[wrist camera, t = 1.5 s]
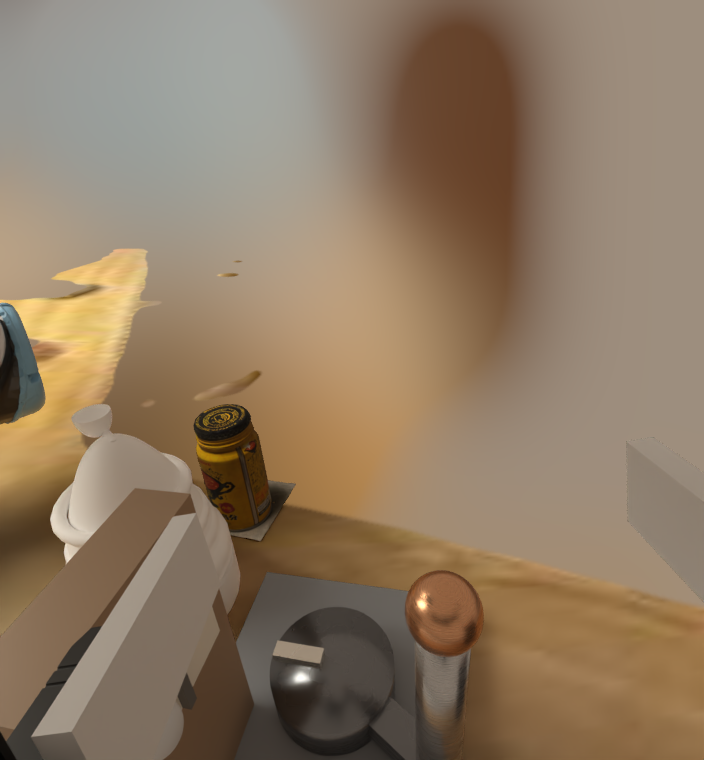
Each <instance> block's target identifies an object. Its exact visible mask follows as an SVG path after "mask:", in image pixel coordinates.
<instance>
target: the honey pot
mask: <svg viewBox="0 0 704 760" xmlns="http://www.w3.org/2000/svg"><path fill="white" fill-rule="evenodd" d="M72 422H73V423H74V425H75V427H76V428H77V429H78V430H79V431H80V432H81V433H83V434H84V435H86V436H89V437H100V436H102V437H101V438H99V439H97V440H96V441H95V442H94V443H92V445H91V446H90V447H89V448H88V449H87V451H86V452H85V454H84V456H83V457H82V459H81V461H80V464H79V466H78V469H77V472H76V475H75V479H74V482H73V483H72V484H71V485H70V486H69V487H68V488H67V489H66V490H65V491H64V492H63V493H62V494H61V495H60V497H59V499H58V500H57V502H56V503H55V505H54V507H53V510H52V514H51V518H50V521H51V525H52V529H53V532H54V533H55V534H56V535H57V537H58V538H59V539H60V540H61V541H62V542H65V548H64V556H65V560H66V564H67V563H68V561H69V560H70V559H71V558H72V557H73V556H74V555H75V554H76V553H77V551H78V550H79V549H80V548H81V547H82V546H83V545H84V544H85V543H86V542H87V540H88V539H89V538H90V537H91V536H92V535H93V534H94V533H95V532H96V531H97V529H98V528H99V527H100V526H101V525H102V524H103V523H104V522H105V521H106V520H107V518H108V517H109V516H110V515H111V514H112V513H113V512H114V511H115V510H116V508H117V507H118V506H119V505H120V504H121V503H122V502H123V501H124V500H125V499H126V497H127V496H128V495H129V494H130V493H131V492H132V491H133V490H134V489H135V488H139V489H149V490H159V491H169V492H179V493H188V494H191V498H192V501H193V504H194V507H195V511H196V513H197V516H198V519H199V522H200V525H201V528H202V531H203V534H204V536H205V539H206V542H207V545H208V548H209V551H210V554H211V557H212V560H213V563H214V566H215V569H216V572H217V574H218V577H219V580H220V583H221V584H220V587H219V590H220V593H221V596H222V599H223V603H224V606H225V609H226V613H227V614H228V613H229V612H230V610H231V609H232V607H233V604H234V602H235V599H236V597H237V594H238V592H239V585H240V576H241V574H240V570H239V566H238V561H237V558H236V554H235V550H234V546H233V543H232V539H231V536H230V531H229V528H228V524H227V522H226V520H225V519H224V517H223V516H222V515H221V513H220V512H219V510H218V509H217V508H215V507H214V506H213V505H212V504H211V502H210V501H209V500H208V498H207V497H206V495H205V494H204V493H203V491H202V490H201V488H199V487H198V486H196V485H194V484H193V483H192V475H191V470H190V469H189V467H188V466H187V464H186V463H185V462H184V461H183V460H181V459H179V458H177V457H176V456H174V455H170V454H166V453H161V452H159V451H158V450H156V449H155V448H153V447H152V446H150V445H149V444H147V443H145V442H144V441H142V440H139V439H138V438H136V437H133V436H130V435H125V434H117V433H116V434H112V433H111V431H110V430H109V428H110V426H111V423H112V412H111V409H110V406H108V405H105V404H97V405H92V406H88V407H85V408H83V409H81V410H79V411H78V412H76V413H75V414H74V415H73V416H72ZM68 511H69V514H68ZM67 516H68V519H67Z"/></svg>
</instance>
